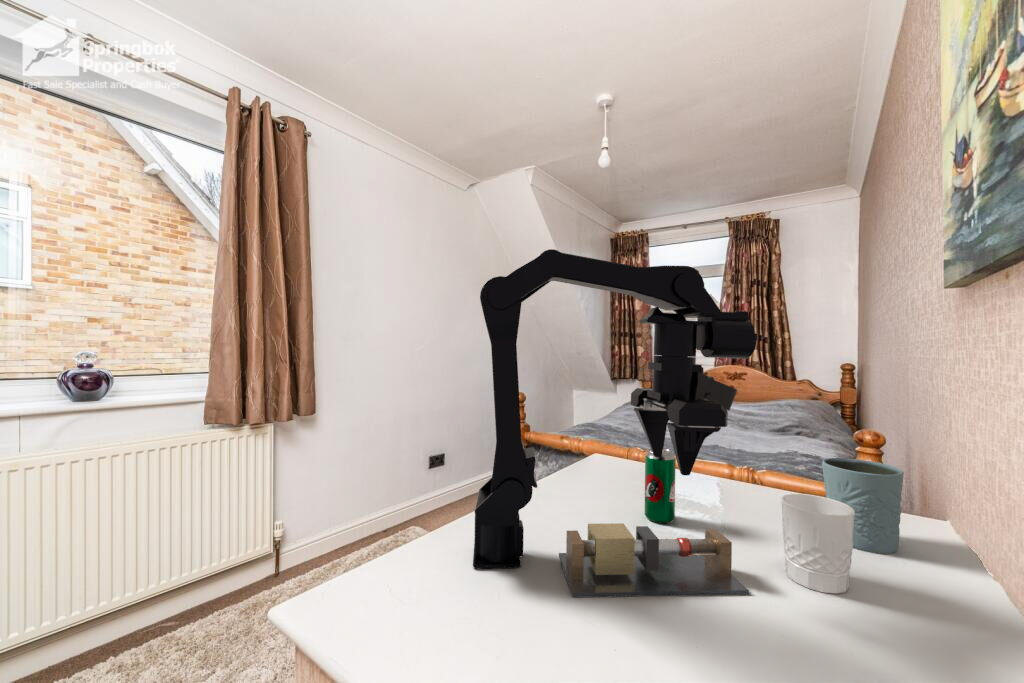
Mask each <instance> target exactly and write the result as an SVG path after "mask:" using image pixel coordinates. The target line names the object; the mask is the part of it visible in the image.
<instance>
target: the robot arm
mask: <svg viewBox="0 0 1024 683" xmlns="http://www.w3.org/2000/svg"><path fill="white" fill-rule="evenodd" d="M551 282H559V283H565V284H569V285H573V286H580V287H584V288H585V287H586V288H591V289H596V290H600V291H601V290H602V291H607V292H611V293H612V292H613V293H619V294H624V295H628V296H630V297H632V298H633V297H634V298H636V299H637V300H638V301H641V302H643V303H645V304H648V305H650V306H653V307H651V308H650V310H649V312H648V313H647V314H645V316H643V317H642V318H640V319H639V323H640V324H641V325H654V332H653V335H654V336H653V357H652V361H648V364H647V368H648V370H652V383H651V384H652V386H651V387H652V388H651V387H650V388H647V387H645V388H644V387H636V388H635V389H634V390H633V391H632V392H631V393H630V405H631V406H633V411H634V412H635V414H636V416H637V419H638V421H639V423H640V425H641V428H642V431H643V433H644V435H645V437H646V440H647V442H648V445H649V449H651V450H652V453H653V455H654V456H655V457H661V456H662V452H663V449H664V445H665V441H666V434H667V429H668V433H669V436H670V440H671V444H672V447H673V448H672V449H673V453H674V457H675V459H676V460H675V461H676V464H677V466H678V469H679V473H680V474H681V476H690V475H691V473H692V470H693V468H694V465H695V462H696V460H697V458H698V455H699V453H700V451H701V450H700V449H701V448H702V446H703V444H704V441H705V440H706V438H708V437H709V436H711V435H712V434H713V433H718V432H720V431H721V429H722V428H726V427H728V414H729V411H731V408H732V405H733V404H734V403H733V402H734V400H735V397H736V395H737V393H738V389H737V388H735V387H732V386H729V385H728V384H726V383H725V384H724V383H722V382H720V381H717V380H715V379H714V377H713V376H710V375H709V376H708V375H707V374H706V373H704V370H705V369H704V367H703V366H702V365H703V364H697V358H696V357H697V351H700V354H701V355H702V356H703V357H704V358H713V359H715V358H716V359H717V358H718V359H739V360H740V359H744V360H745V359H749V358H750V357H752V355H753V354H754V352H755V349H756V346H757V340H758V339H757V338H758V337H757V333H756V330H755V327H754V325H753V323H752V322H751V320H750V319H749V312H748V311H745V310H744V311H743V310H739V311H738V310H737V311H732V312H731V311H722V310H721V309H720V307H719V306H718V305H717V303H716V302H715V300H714V298H712V296H711V295H710V293H709V292H708V290H707V289H706V287H705V282H704V279H703V277H702V275H701V274H700V271H699V270H698V269H697V268H694V267H691V265H690V266H689V265H657V266H655V265H654V266H635V265H629V264H624V263H618V262H614V261H610V260H609V261H608V260H604V259H599V258H592V257H587V256H581V255H577V254H571V253H566V252H561V251H560V250H558V249H552V248H551V249H546V250H544V251H542V252H541V253H540V254H539V256H537V257H536V258H534V259H532V260H531V261H529V262H527V263H525V264H524V265H522V266H520V267H518V268H517V269H515V270H514V271H512V272H510V274H508V275H506V276H502V275H499V276H493V277H492V278H490V279H489V280H487V281H486V282H485V283H484V284H483V286H482V288H481V290H480V295H479V300H480V305H481V310H482V314H483V318H484V322H485V325H486V329H487V333H488V337H489V342H490V346H491V350H490V351H491V364H492V368H491V369H492V383H493V385H492V386H493V402H494V419H495V422H494V423H495V424H494V425H495V437H496V438H495V439H496V440H495V441H496V443H495V452H494V458H493V466H492V476H491V478H489V479H488V481H486V483H484V484H483V485H482V486H481V487H480V488H479V490H478V493H477V494H478V495H477V498H476V503H475V508H474V540H473V541H474V544H473V556H472V557H473V558H472V568H474V569H487V568H488V569H494V568H495V569H497V568H499V569H500V568H503V569H504V568H520V567H521V564H522V563H521V557H523V556H524V531H525V530H524V524H523V523H524V522H523V521H522V519H520V514H519V512H520V510H521V509H524V508H525V507H526V506H527V505H528V504H529V503H530V502H531V500H532V498H533V488H535V489H537V488H538V483H537V477H536V473H535V467H536V456H535V454H536V453H535V450H534V447H528V448H525V447H524V442H523V439H522V425H521V424H522V422H521V407H520V406H521V404H520V386H519V385H520V384H519V370H518V369H519V366H518V351H517V340H518V335H519V334H518V333H519V326H520V318H521V312H522V311H521V310H522V303H523V302H524V301H526V300H527V299H528V298H530V297H531V296H533V295H534V294H535V293H536V292H538V291H540V290H541V289H543V288H544V287H545V286H547V285H548V284H549V283H551ZM662 310H664V311H672V312H663V311H662ZM687 319H697V320H687Z"/></svg>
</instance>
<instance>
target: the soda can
mask: <svg viewBox="0 0 1024 683" xmlns="http://www.w3.org/2000/svg"><path fill="white" fill-rule="evenodd" d="M644 456H645V457H644V460H645V461H644V516H645V518H647V519H648V520H649V521H650V522H652V523H656V524H662V525H664V524H670V523H672V522H673V521H674V520H675V518H676V461H677V460H676V456H675V454H674V450H671V449H667V448H663V452H662V456H661V457H655V456H654V455H653V453H652V450H651V448H648V449H647V452H646V454H645V455H644Z"/></svg>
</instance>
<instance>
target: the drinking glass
mask: <svg viewBox="0 0 1024 683" xmlns="http://www.w3.org/2000/svg"><path fill="white" fill-rule="evenodd" d="M821 463H822V464H821V465H822V474H823V483H824V484H823V485H824V490H825V498H829V499H833V500H836V501H839V502H842V503H844V504H846V505H848V506H850V507H852V508H853V509H854V511H855V518H854V533H853V549H855V550H858V551H863V552H866V553H867V552H868V553H873V554H881V555H890V554H894V553H896V552H898V550H899V546H900V545H899V543H900V530H901V529H900V524H901V514H902V507H901V502H902V490H903V482H904V471H903V470H902V469H900V468H898V467H896V466H894V465H890V464H886V463H883V462H878V461H871V460H866V459H865V460H864V459H858V458H846V457H845V458H844V457H830V458H824V459H823V460H822V462H821Z"/></svg>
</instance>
